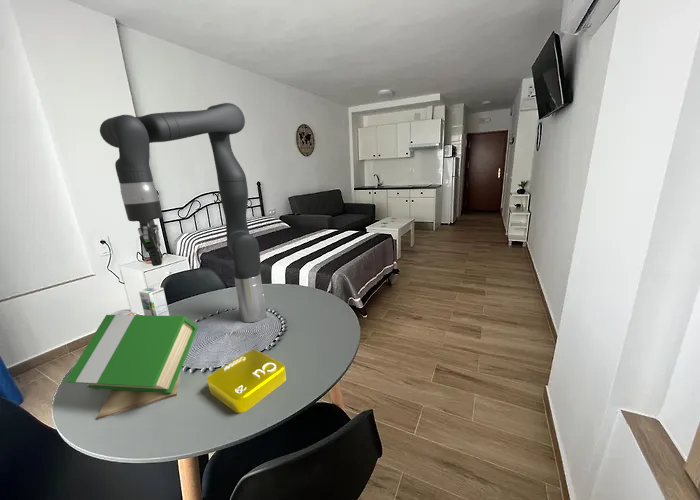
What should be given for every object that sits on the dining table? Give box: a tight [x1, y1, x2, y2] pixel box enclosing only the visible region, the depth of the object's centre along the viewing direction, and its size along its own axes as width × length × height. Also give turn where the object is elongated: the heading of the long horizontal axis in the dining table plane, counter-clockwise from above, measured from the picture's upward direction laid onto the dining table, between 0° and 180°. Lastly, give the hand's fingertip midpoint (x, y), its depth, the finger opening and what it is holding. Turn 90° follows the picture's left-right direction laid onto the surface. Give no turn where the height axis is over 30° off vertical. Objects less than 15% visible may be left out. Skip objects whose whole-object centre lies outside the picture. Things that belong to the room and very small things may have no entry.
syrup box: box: [138, 286, 170, 316], centre depth 108 cm, size 6×6×14 cm
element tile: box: [206, 349, 287, 414], centre depth 76 cm, size 15×15×5 cm
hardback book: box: [64, 314, 199, 393], centre depth 78 cm, size 18×7×24 cm
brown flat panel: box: [96, 372, 181, 420], centre depth 77 cm, size 16×14×1 cm
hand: (157, 264), depth 79 cm, fingers closed
